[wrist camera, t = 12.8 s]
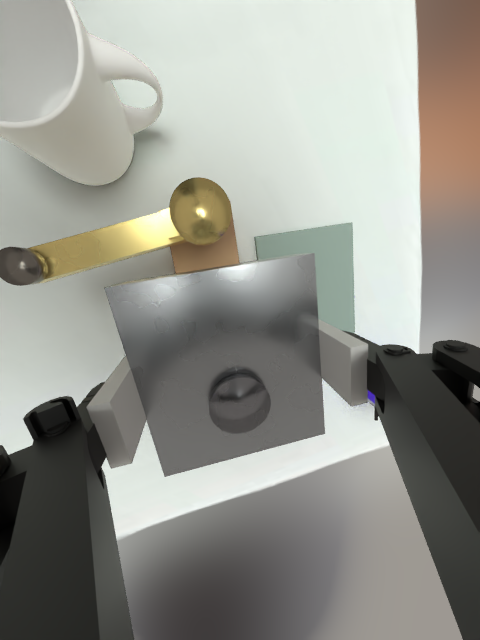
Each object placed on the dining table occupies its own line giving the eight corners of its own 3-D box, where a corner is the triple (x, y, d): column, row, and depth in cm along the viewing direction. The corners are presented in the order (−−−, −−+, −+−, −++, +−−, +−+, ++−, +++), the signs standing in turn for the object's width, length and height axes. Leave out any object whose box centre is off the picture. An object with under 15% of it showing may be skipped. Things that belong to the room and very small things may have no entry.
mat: (254, 237, 26) (255, 236, 26) (350, 222, 28) (352, 222, 27) (269, 349, 30) (269, 350, 30) (352, 331, 31) (354, 332, 31)
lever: (216, 190, 17) (221, 170, 13) (230, 240, 18) (238, 234, 14) (16, 244, 16) (-40, 238, 12) (43, 295, 17) (-1, 304, 13)
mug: (180, 180, 24) (164, 118, 14) (55, 193, 22) (-68, 133, 12) (161, 78, 22) (124, -90, 11) (21, 84, 20) (-167, -102, 10)
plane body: (169, 220, 24) (145, 187, 14) (224, 212, 25) (241, 176, 15) (202, 370, 29) (203, 431, 19) (247, 360, 30) (273, 414, 19)
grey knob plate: (120, 282, 11) (98, 289, 9) (296, 253, 12) (321, 252, 10) (169, 446, 14) (162, 487, 11) (308, 411, 15) (330, 441, 12)
